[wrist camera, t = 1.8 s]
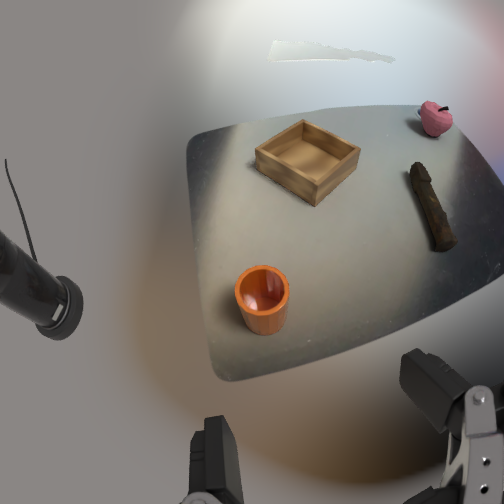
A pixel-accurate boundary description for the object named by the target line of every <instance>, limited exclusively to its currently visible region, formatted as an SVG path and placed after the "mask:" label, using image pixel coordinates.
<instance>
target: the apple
mask: <svg viewBox="0 0 504 504" xmlns="http://www.w3.org/2000/svg"><path fill="white" fill-rule="evenodd" d="M447 110H449V109H448V107H441V106H438V105H437V104H436V103H435V102H430V101H426V102H425V103H423V104H422V106H421V112H420V116H421V120H422V123H423V128H424V130H425V131H426V133H427V134H429V135H431V136H436V137H437V136H439V135H441V134H442V133H444V132H446V131H447V130H449V129H450V127H451V126H452V124H453V121H452V115H451V114H450V113H448V111H447Z"/></svg>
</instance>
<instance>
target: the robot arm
mask: <svg viewBox="0 0 504 504" xmlns="http://www.w3.org/2000/svg"><path fill="white" fill-rule="evenodd" d="M5 168H6V172H7V176H8V179H9V182H10V185H11V187H12V190H13V193H14V196H15V198H16V201H17V204H18V207H19V210H20V214H21V217H22V220H23V224H24V228H25V231H26V235H27V239H28V242H29V246H30V250H31V254H32V257H33V259H32V258H31V257H30V256H29V255H27V254H26V253H25V252H24V251H23V250H22V249H21V248H19V247H18V246H17V245H16V244H15V243H14V242H12V240H10V239H9V238H8V237H7V236H6V235H5V234H4V233H3V232H2V231H1V230H0V303H1V304H2V305H4V306H6V307H7V308H9V309H11V310H12V311H14V312H16V313H18V314H19V315H21V316H23V317H25V318H27V319H28V320H31V321H32V322H34V323H36V324H38V325H40V326H41V327H43V328H45V329H47V330H54V329H56V328H58V327H59V326H60V325H61V324H62V323H63V322H64V321H65V319H66V317H67V315H68V313H69V310H70V305H71V294H70V290H69V288H68V287H67V285H66V284H64V283H63V282H62V281H60V280H58V279H57V278H56V277H54V276H53V275H52V274H50V273H49V272H48V271H47V270H46V269H44V268H43V267H42V266H41V265H39V264H38V262H37V259H36V255H35V252H34V249H33V245H32V242H31V238H30V235H29V231H28V228H27V224H26V221H25V217H24V214H23V211H22V208H21V205H20V202H19V200H18V197H17V194H16V192H15V189H14V186H13V184H12V182H11V179H10V176H9V173H8V169H7V161H6V159H5ZM399 379H400V380H399V381H400V385H401V388H402V389H403V391H404V392H405V393H406V394H407V395H408V397H409V398H410V399H411V400H412V401H413V402H414V404H415V405H416V406H417V407H418V408H419V409H420V411H421V412H422V413H423V414H424V415H425V417H427V419H428V420H429V421H430V422H431V424H432V425H433V426H434V427H435V428H436V430H437V431H438V432H439V433H442V432H443V431H445V430H446V429H448V430H449V431H450V434H449V442H448V453H447V462H446V469H445V472H444V475H443V477H442V480H441V484H440V488H437V489H433V488H432V486H430V487H429V488H427V489H425V490H424V491H422V492H420V493H419V494H417V495H415V496H414V497H412V498H410V499H408V500H407V501H406V502H404V503H403V504H504V491H503V481H504V381H503V382H502V383H500V384H498V385H495V386H493V387H491V388H487V387H486V386H481V385H480V386H474V387H473V386H472V385H471V384H470V383H468V382H467V381H466V380H465V379H464V378H463V377H462V376H460V375H459V374H458V373H457V372H456V371H455V370H454V369H451V367H450V366H449V365H448V364H446V363H445V362H444V361H443V360H442V359H440V358H439V357H438V356H435V355H432V354H427V355H426V354H425V353H423V352H422V351H421V350H420V349H418V348H416V349H414V350H412V351H410V352H408V353H406V354H404V355H403V356H402V358H401V368H400V377H399ZM190 452H191V453H190V467H189V492H188V495H187V496H186V497H185V498H184V499H183V501H182V502H181V503H180V504H244V500H243V492H242V485H241V478H240V469H239V461H238V452H237V445H236V441H235V438H234V436H233V433H232V431H231V429H230V427H229V426H228V423H227V422H226V420H225V418H224V416H223V415H220V416H214V417H209V418H205V420H204V430H203V431H196V432H195V434H194V436H193V438H192V440H191V444H190Z"/></svg>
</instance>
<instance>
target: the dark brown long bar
mask: <svg viewBox="0 0 504 504" xmlns="http://www.w3.org/2000/svg"><path fill="white" fill-rule="evenodd" d="M410 178H411V183H412V186H413V190H414V192H415V193H417V194H418V196H419V198H420V201H421V203H422V206H423V209H424V211H425V213H426V216H427V218H428V222H429V224H430V227H431V229H432V232H433V235H434V237H435V240H436V248H435V250H436V251H437V252H438V251H440V252H443V251H447V250H450V249H451V248H453V247H454V246H455V245H456V244H457V243H458V240H457V238H456V237H455V236H454V234H453V233H452V231H451V228H450V226H449V223H448V221H447V215H446V213H445V212H444V211H443V209H442V207H441V205H440V203H439V200H438V198H437V196H436V194H435V192H434V190H433V188H432V185H431V184H430V182H431V177H430V176H429V174H428V171H427V170H426V168H425V167H424V166H423V164H422V163H420V162H415V163H414V164H413V165H412V166H411V169H410Z"/></svg>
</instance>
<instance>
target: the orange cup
mask: <svg viewBox="0 0 504 504" xmlns="http://www.w3.org/2000/svg"><path fill="white" fill-rule="evenodd" d="M235 297H236V300H237V302H238V305H239V308H240V310H241V313H242V316H243V318H244V321H245V323H246V325H247V327H248V328H249V329H250V330H251V331H252V332H254V333H256V334H259V335H271V334H274V333H276V332H277V331H279V330H280V329H281V328H282V327H283V325H284V323H285V320H286V317H287V309H288V301H289V283H288V281H287V279H286V277H285V275H284V274H283V273H281V272H280V271H279V270H278V269H276V268H274V267H271V266H268V265H259V266H254V267H252V268H249V269H247V270H246V271H245V272H244V273H242V274H241V275H240V276H239V278H238V280H237V282H236V284H235Z"/></svg>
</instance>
